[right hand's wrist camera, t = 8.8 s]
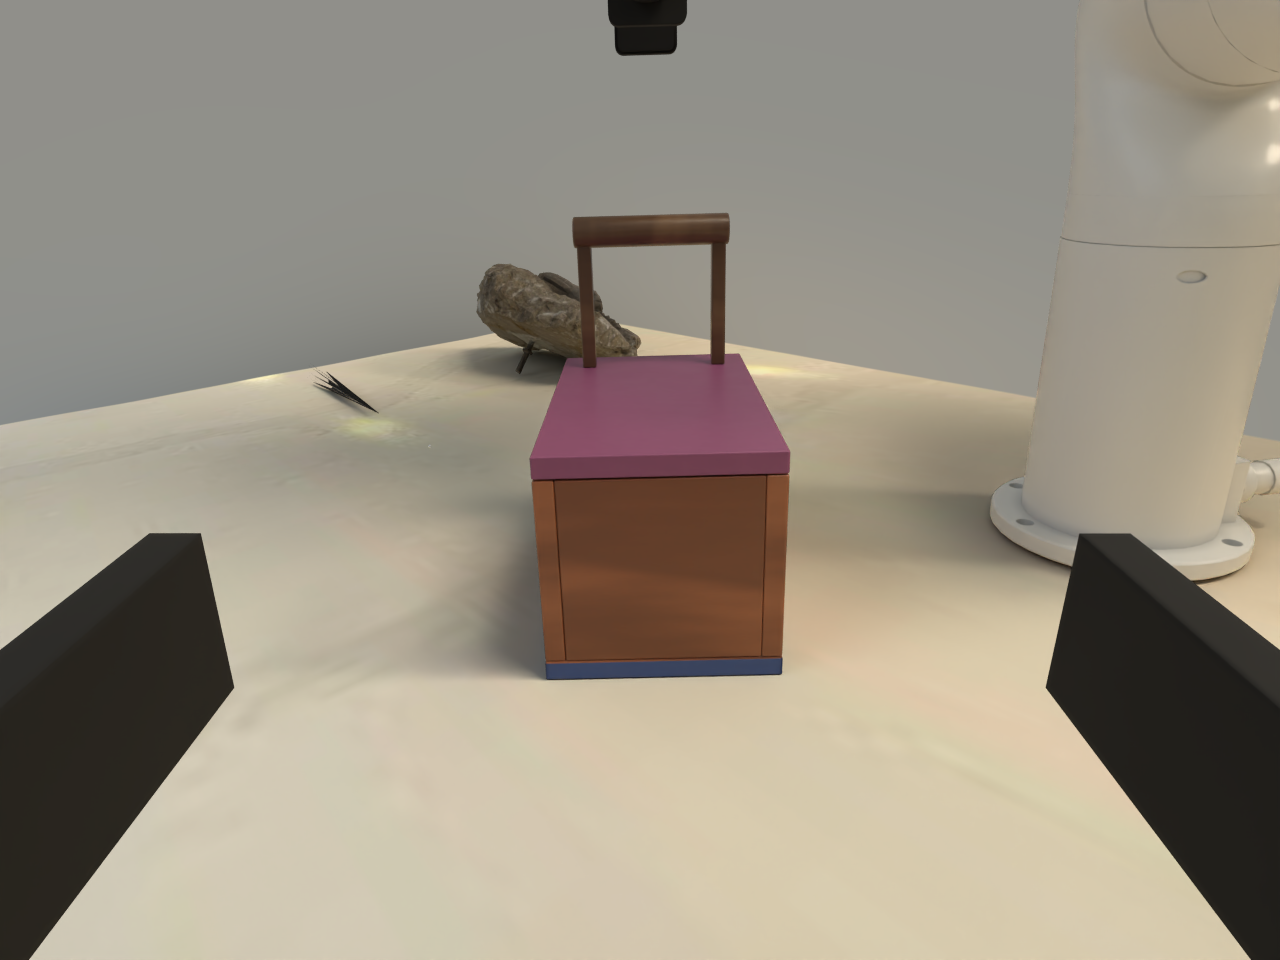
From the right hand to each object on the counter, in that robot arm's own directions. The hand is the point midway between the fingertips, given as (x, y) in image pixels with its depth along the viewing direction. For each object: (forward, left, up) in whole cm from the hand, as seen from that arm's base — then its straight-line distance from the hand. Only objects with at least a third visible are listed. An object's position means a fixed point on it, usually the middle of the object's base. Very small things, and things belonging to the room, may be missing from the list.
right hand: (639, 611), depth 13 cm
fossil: (+20, -70, -13) cm, 74 cm away
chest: (+3, -26, -13) cm, 29 cm away
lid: (+3, -26, -5) cm, 27 cm away
